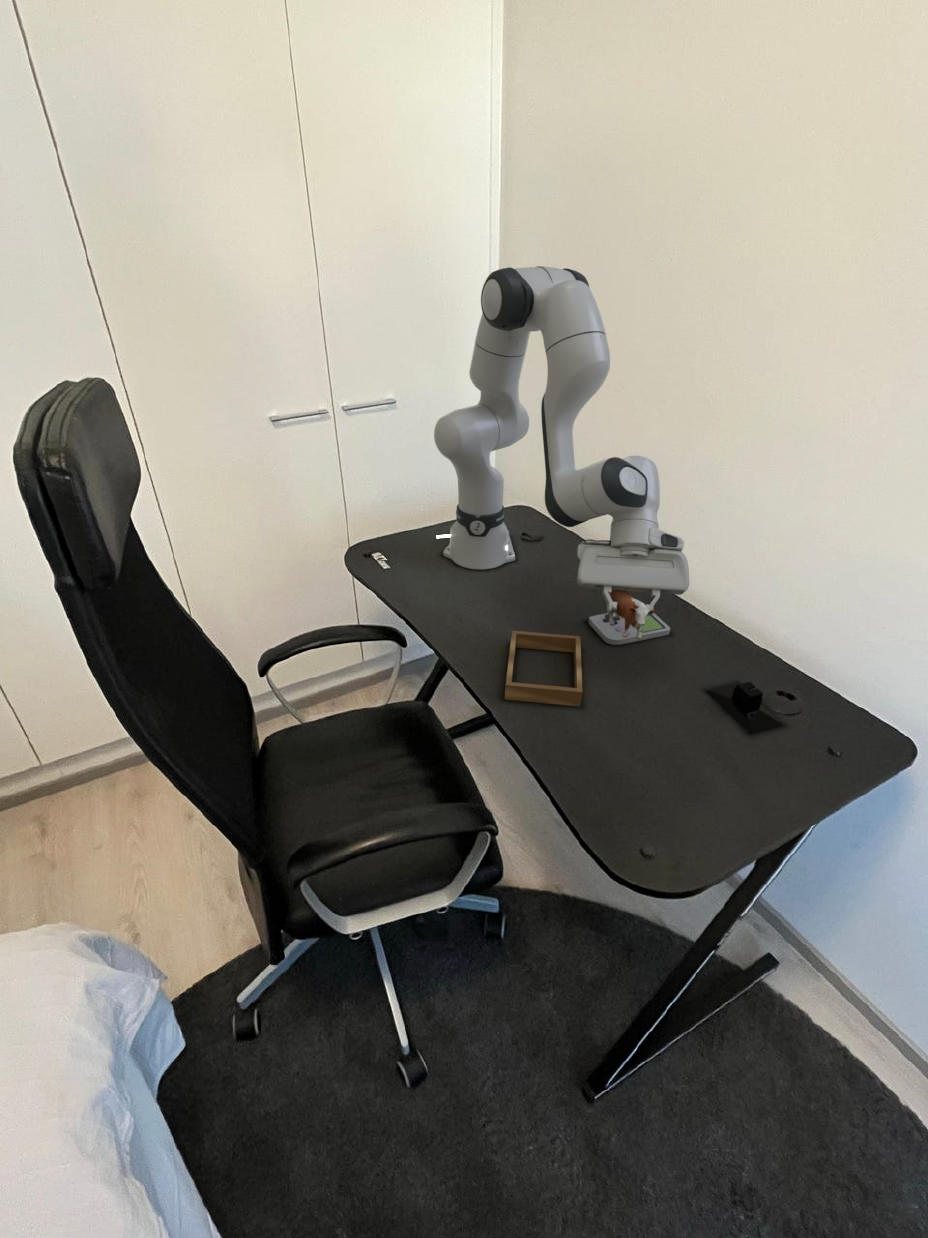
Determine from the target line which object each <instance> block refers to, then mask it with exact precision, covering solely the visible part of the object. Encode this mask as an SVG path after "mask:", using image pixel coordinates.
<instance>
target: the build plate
mask: <svg viewBox="0 0 928 1238" xmlns="http://www.w3.org/2000/svg"><path fill="white" fill-rule="evenodd" d="M707 693H708V694H709V695H710V696H711V697H712V698H713V699H714V700H715V701H716V702H717V703H718V704H719V705H720V706H721V707H722V708H723V709H724V710H726V712H727V713H728V714H729V715H730V716H732V718H734V719H735V720H736V721H737V722H738V724H740V727H741V729H743V730H744V731H745V732H746V733H748V734H750V735H753V734H758V733H762V732H765V731H769V730H773V729H776V728H780V727H783V725H784V724H783V722H782V721H780V720H779V719H778V718H777V717H776V716H775V715H774V714H773V713H772V712H770V711H769V710H768V708H766V707H765V706H764V705H763V704H762V703H763V696H764V693H763V692H762V691H761V690H760V689H759V688H756V685H754V683H752V682H751V681H746V682H742V683H739V682H736V683H731V684H727V685H722V686H719V687H714V688H711V689H708V690H707Z"/></svg>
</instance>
